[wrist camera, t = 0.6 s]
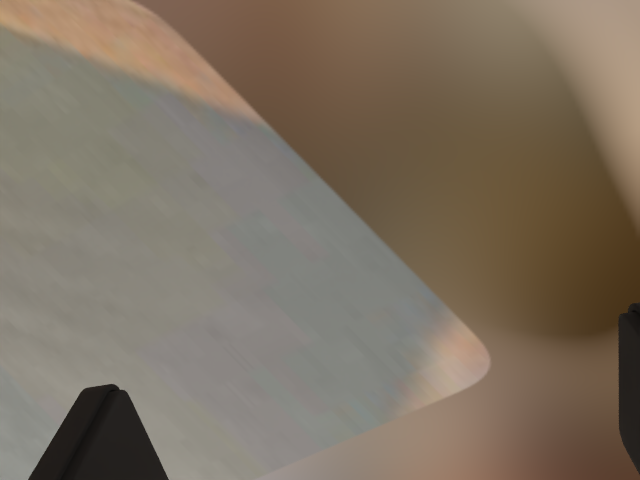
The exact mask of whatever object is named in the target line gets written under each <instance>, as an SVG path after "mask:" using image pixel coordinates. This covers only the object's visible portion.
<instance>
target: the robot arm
mask: <svg viewBox="0 0 640 480" xmlns="http://www.w3.org/2000/svg"><path fill="white" fill-rule="evenodd" d="M619 430H620V435H621V438H622V441H623V444H624V446H625V448H626V450H627V452H628V454H629V455H630V458H631V460H632V461H633V463H634V465H635V467H636V469H637V471H638V472H639V474H640V303H634V304H631V305H630V306H629V309H628V313H623V314H620V316H619ZM28 480H169V479H168V477H167V475H166V473H165V471H164V469H163V467H162V464H161V462H160V460H159V458H158V456H157V454H156V452H155V450H154V448H153V445H152V443H151V441H150V439H149V437H148V435H147V433H146V431H145V428H144V426H143V424H142V422H141V420H140V418H139V416H138V414H137V411H136V409H135V407H134V405H133V403H132V401H131V399H130V397H129V395H128V393H127V392H126V391H125V390H120V389H119V388H118V387H117V386H116V385H114V384H109V385H103V386H96V387H90V388H86V389H84V390H83V391H82V392H81V393H80V395H79V396H78V398H77V400H76V401H75V403H74V405H73V406H72V408H71V409H70V411H69V413H68V414H67V416H66V418H65V419H64V421H63V423H62V424H61V426H60V428H59V429H58V431H57V433H56V434H55V436H54V438H53V439H52V441H51V443H50V444H49V446H48V448H47V449H46V451H45V453H44V454H43V456H42V458H41V459H40V461H39V462H38V464H37V466H36V467H35V469H34V471H33V472H32V474H31V476H30V477H29V479H28Z"/></svg>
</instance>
